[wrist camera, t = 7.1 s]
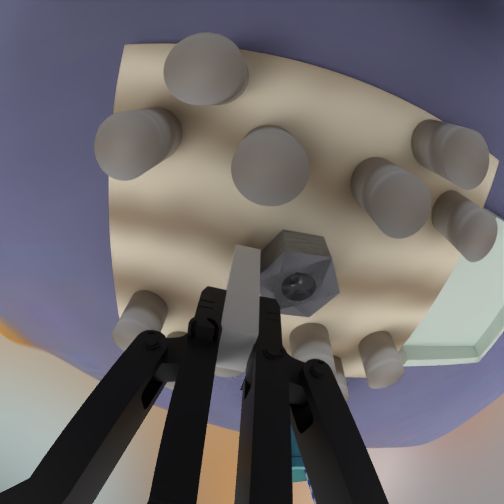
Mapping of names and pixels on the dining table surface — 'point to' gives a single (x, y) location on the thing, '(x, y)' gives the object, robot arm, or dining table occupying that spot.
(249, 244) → the board
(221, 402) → the dining table surface
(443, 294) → the tray
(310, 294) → the nut
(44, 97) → the dining table surface
